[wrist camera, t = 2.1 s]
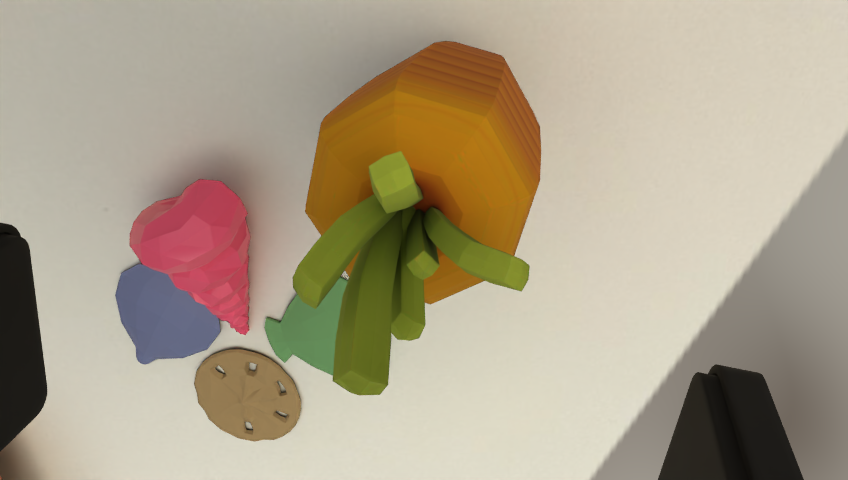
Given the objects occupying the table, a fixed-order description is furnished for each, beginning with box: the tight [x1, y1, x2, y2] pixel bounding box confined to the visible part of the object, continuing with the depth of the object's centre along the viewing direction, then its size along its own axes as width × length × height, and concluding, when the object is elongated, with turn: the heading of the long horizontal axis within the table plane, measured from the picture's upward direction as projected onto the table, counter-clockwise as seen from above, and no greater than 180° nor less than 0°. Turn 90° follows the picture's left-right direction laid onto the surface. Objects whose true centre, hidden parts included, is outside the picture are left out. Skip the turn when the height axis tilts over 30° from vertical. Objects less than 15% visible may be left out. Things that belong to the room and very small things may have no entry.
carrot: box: [293, 41, 541, 395], centre depth 18 cm, size 5×5×15 cm
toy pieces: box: [115, 179, 348, 441], centre depth 29 cm, size 12×11×4 cm
